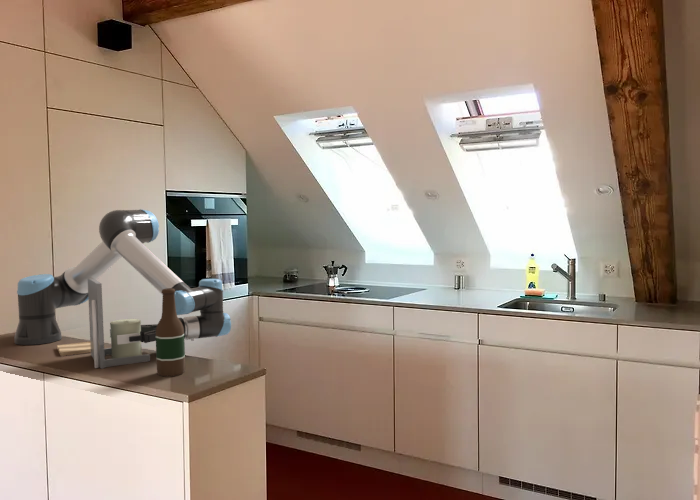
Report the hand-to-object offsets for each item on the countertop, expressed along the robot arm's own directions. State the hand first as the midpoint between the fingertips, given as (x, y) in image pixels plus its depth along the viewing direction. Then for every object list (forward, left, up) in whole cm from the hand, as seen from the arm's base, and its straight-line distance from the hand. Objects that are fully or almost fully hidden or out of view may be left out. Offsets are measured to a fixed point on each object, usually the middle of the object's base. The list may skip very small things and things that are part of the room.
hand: (113, 336), depth 192 cm
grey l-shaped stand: (0, +1, -7) cm, 7 cm away
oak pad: (-21, -7, -7) cm, 23 cm away
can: (0, +4, -7) cm, 8 cm away
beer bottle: (+27, +11, -7) cm, 30 cm away
